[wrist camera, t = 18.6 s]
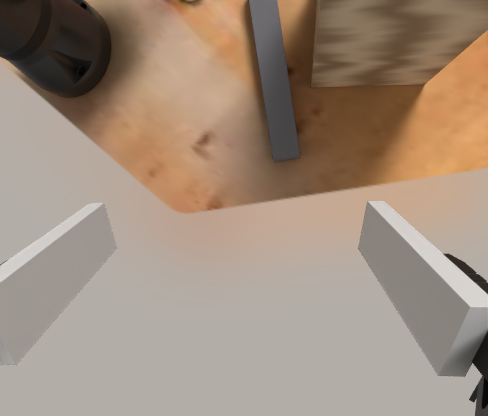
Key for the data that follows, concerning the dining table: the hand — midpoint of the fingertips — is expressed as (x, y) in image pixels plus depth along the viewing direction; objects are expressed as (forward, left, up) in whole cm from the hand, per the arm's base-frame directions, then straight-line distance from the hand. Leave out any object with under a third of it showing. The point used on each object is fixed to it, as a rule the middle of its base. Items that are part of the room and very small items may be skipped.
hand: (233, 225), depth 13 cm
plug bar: (-1, +18, -25) cm, 31 cm away
